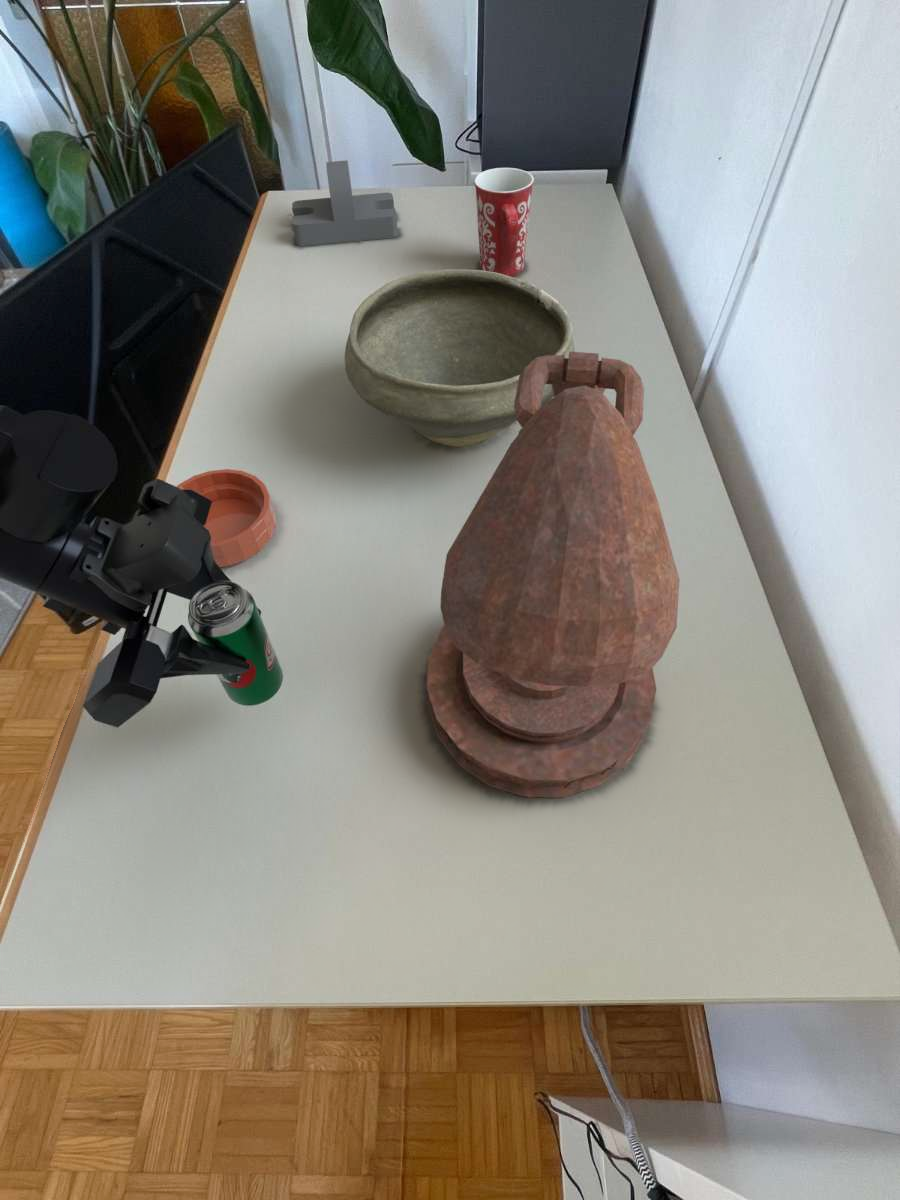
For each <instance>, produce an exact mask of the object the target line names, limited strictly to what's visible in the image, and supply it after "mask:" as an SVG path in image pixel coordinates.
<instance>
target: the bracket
mask: <svg viewBox="0 0 900 1200" xmlns="http://www.w3.org/2000/svg"><path fill="white" fill-rule="evenodd" d="M325 166H326V167H325V168H326V175H327V176H326V177H327V182H328V183H327V184H328V191H329V197H322V198H310V199H300V200H299V199H298V200H295V201H293V202H291V203H292V204H291V207H292V208H291V210H292V214H293V215H292V216H291V224H292V229H293V234H294V238H295V245H297V246H298V247H310V246H321V245H332V244H342V243H352V242H363V241H372V240H373V241H374V240H384V239H385V240H386V239H394V238H396V237H398V235H399V232H398V219H397V211H396V208H395V202H394V195H393V194H392V193H391V192H377V193H367V194H355V195H353V190H352V184H351V175H350V168H349V161H348V160H347V159H346V160H335V161H325Z"/></svg>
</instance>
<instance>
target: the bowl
mask: <svg viewBox="0 0 900 1200" xmlns="http://www.w3.org/2000/svg"><path fill="white" fill-rule="evenodd" d="M349 326H350V327H349V333H348V337H347V339H346V344H345V351H344V368H345V374H346V377H347V379H348V382H349V383H350V385H351V386H352V388H353V389H354V390H355V392H356V393H357V395H358V396H359V397H360V398H361V399H362V400H363V401H364V402H366V404H368V405H370V406H371V407H372V408H374V409H376V410H378V411H380V412H382V413H383V414H386V415H387V416H390V417H391V418H394V419H396V420H398V421H400V422H402V423H404V424H406V425H408V426H409V427H411V428H412V429H414V430H415V431H416V432H418V433H419V434H421V435H422V436H423V437H424V438H426V439H428V440H430V441H433V442H434V443H437V444H440V445H444V446H450V447H456V448H461V447H467V446H472V445H475V444H477V443H480V442H482V441H485V440H487V439H489V438H492V437H493V436H495V435H497V434H499V433H501V432H502V431H504V430H506V429H507V428H509V427H511V425H513V424H515V422H518V421H517V420H516V416H515V410H514V403H515V397H516V391H517V386H518V380H519V376H520V375H521V373H522V372H523V370H524V368H525V367H526V366H527V365H528V364H529V363H531V362H532V361H533V360H534V359H535V358H537V357H542V356H547V355H565V358H569V352H576V351H575V343H574V338H573V337H574V336H573V322H572V319H571V317H570V315H569V313H568V312H567V311H566V309H565V308H564V307H563V305H562V304H561V303H560V302H559V301H558V300H557V299H556V298H554V297H553V296H551V295H550V294H549V293H548V292H546V291H544V289H542V288H541V287H540V286H539V287H537V285H536V284H534V283H528V282H527V281H526V280H523V279H520V278H517V277H514V276H511V277H510V276H507V275H503V274H500V273H496V272H490V271H483V270H481V269H468V268H467V269H466V268H465V269H464V268H463V269H462V268H460V269H457V268H456V269H454V268H449V269H438V270H436V269H435V270H424V271H423V270H422V271H417V272H415V273H411V274H407V275H405V276H401V277H397V278H396V279H392V280H391V281H389V282H387V283H386V284H384V285H382V287H380V288H378V289H377V290H375V291H374V292H372V293H370V295H368V297H366V298H365V299H364V300H363V301H361V303H360V304H359V306H358V307H357V308H356V310H355V311H354V314H353V316H352V319H351V323H350V325H349ZM553 397H554V392H553V388H552V384H545V385H544V390H543V396H542V402H541V406H542V405H544V404H545V403H546V402H548V401H549V400H550V399H552V398H553Z"/></svg>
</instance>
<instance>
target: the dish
mask: <svg viewBox="0 0 900 1200" xmlns="http://www.w3.org/2000/svg"><path fill="white" fill-rule="evenodd" d="M176 487H178V488H180V489H182V490H193V491H195V492H197V493H199V494H201V495H202V496H204V497H206V498H208V499H210V500H211V501H212V504H211V507H210V511H209V514H208V517H207V521H206V524H205V525H204V527H205V528H206V529H207V530H208V531H209V532H210V535H211V542H210V544H211V549H212V553H213V557H214V560H215V562H216V564H217V565H218V566H219V567H220V568H222V567H223V568H224V567H229V566H233V565H235V564H239V563H241V562H243V561H246V560H248V559H249V558H251V557H252V556H254V555H255V554H257V553H259V552H260V551H261V550H262V549H263V548H264V546H265V545H266V544H268V542H269V541H270V540H271V538H272V536H273V534H274V532H275V529H276V527H277V514H276V511H275V508H274V504H273V501H272V499H271V498H272V497H271V495H270V493H269V491H268V489H267V485H266V484H265V483H264V482H263V481H262V480H261V479H260V478H258V477H257V476H256V475H254V474H252V473H248V472H247V471H243V470H239V469H229V468H224V469H214V470H208V471H205V472H201V473H199V474H196V475H193V476H191V477H190V478H188V479H186V480H184V481H182V482H180V483H179V484H178V485H177V486H176Z"/></svg>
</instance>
